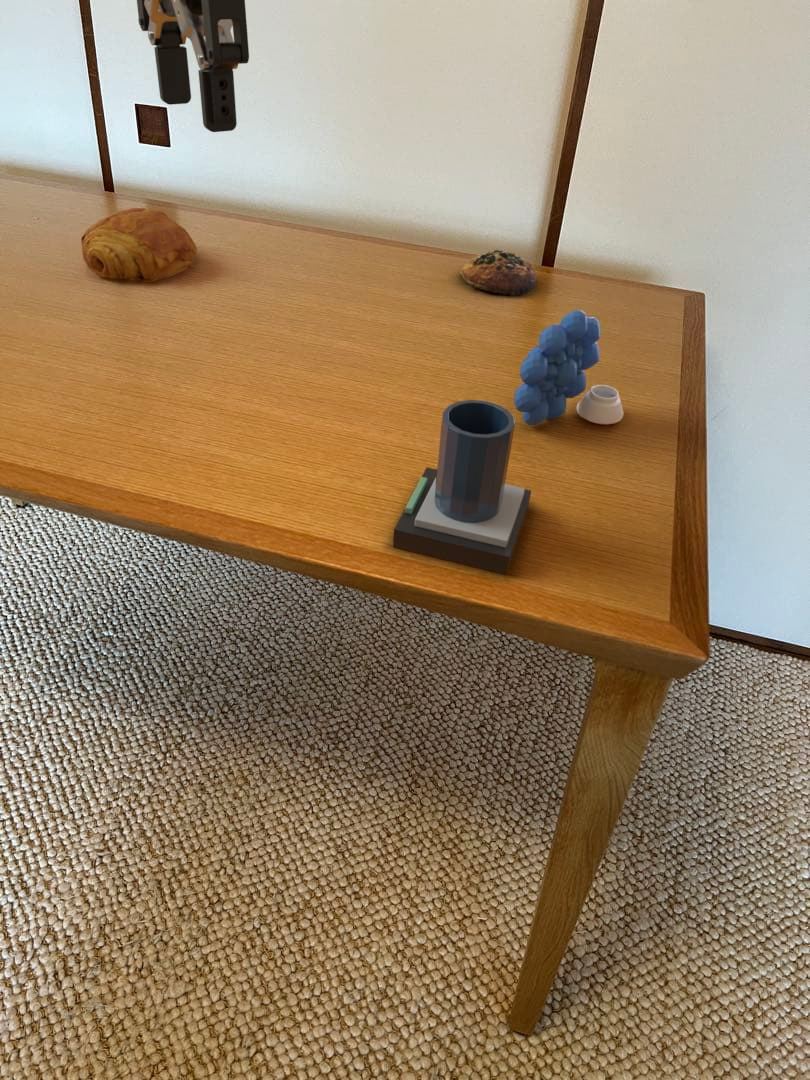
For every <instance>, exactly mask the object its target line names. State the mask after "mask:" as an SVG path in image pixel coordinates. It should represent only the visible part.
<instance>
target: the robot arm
mask: <svg viewBox="0 0 810 1080" xmlns="http://www.w3.org/2000/svg"><path fill="white" fill-rule="evenodd" d="M136 7H137V14H138V16H137V17H138V19H137V20H138V25H139V28H140V29H141V31H142V32H147V37H148V40H149V43H150V45H151V46H154V48H153V49H154V56H155V64H156V74H157V81H158V90H159V98H160V100H161V101H162V102H163V103H165V104H166V105H170V106H171V105H184V104H185V105H186V104H188V103H190V102H191V99H192V92H191V91H192V90H191V82H190V81H191V79H190V72H189V71H190V68H189V60H188V51H187V50H188V49H187V47H186V46H184V45H186V43H187V39H189V40H190V42H191V45H192V48H193V52H194V55H195V59H196V62H197V65H198V68H199V69H198V79H199V80H198V81H199V82H198V83H199V92H200V104H201V114H202V115H201V116H202V124H203V126H204V128H205V129H206V130H208V131H209V132H210V133H220V132H231V131H234V130H235V129H236V128H237V124H238V123H237V108H236V107H237V106H236V93H235V79H234V78H235V77H234V70H237V69H238V67H239V65H240V64H242V65H243V64H248V63H249V61H250V50H249V48H250V47H249V38H248V25H247V22H248V21H247V12H246V11H247V9H246V0H136ZM231 31H232V32H233V33H232V32H231ZM232 34H233V35H232Z"/></svg>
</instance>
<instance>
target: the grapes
mask: <svg viewBox="0 0 810 1080" xmlns="http://www.w3.org/2000/svg"><path fill="white" fill-rule="evenodd" d="M600 338H601V325H600V321H599V320H598V319H597V318H596V317H594V316H587V314H586V312H584V311H583V310H581V309H579V310H578V309H576V310H573V311H571V312H569V313H567V314H566V315H564V316H563V317H562V318H561V320H560V323H558V324H557V323H556V324H552V325H550V326H548V327H546V328H544V329H543V330H542V331H541V333H540V334H539V337H538V345H537V346H534V347H533V348H532V349H530V350H529V352H527V356H526V358H525V359H524V360H522V361H521V364H520V367H519V368H520V371H519V372H520V373H519V376H520V379H521V382H523V384H521V385H519V386H518V387H517V388H516V389H515V392H514V395H513V405H514V407H515V410H517V411H518V412H520V413H521V414H522V416H521V417H522V419H523V422H524V424H526V425H528V426H536V425H539V424H540V423H542V422H544V421H545V420H547V421H549V420H555V419H558V418H559V417H560V416H562V415H563V414H564V413H566V410H567V399H573V398H576V397H578V396H579V395H581V394H582V393H584V392H585V391H586V387H587V376H586V374H585V371H586V370H589V369H590V368H592V367H594V366H595V365H596V364H598V363H599V362H600V347H599V344H598V342H597V341H599V340H600Z"/></svg>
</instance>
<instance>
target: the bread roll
mask: <svg viewBox="0 0 810 1080" xmlns="http://www.w3.org/2000/svg"><path fill="white" fill-rule="evenodd" d="M459 273H460V275H461V276H462V278H463V280H464V282H465V283H467V284H468V285H470V287H472V288H475V289H478V290H483V291H487V292H489V293H493V294H501V295H509V296H513V297H514V296H515V297H516V296H521V295H524V294H526V293H528V292H530V291H531V290H533V287H534V286H535V284H536V282H537V273H536V270H535V267H534V266H533V264H532V263H530V262H529V261H528V260H527V259H524V258H523V257H521V256H518V255H517V254H516V253H514V252H512V251H511V252H510V251H505V250H499V249H495V250H494V251H487V252H485V254H481V255H477V256H475V257H473V258H471V259H469V260H468V261H467V262H466V263H465V264H463V266H462V268H461V270H460V272H459Z"/></svg>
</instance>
